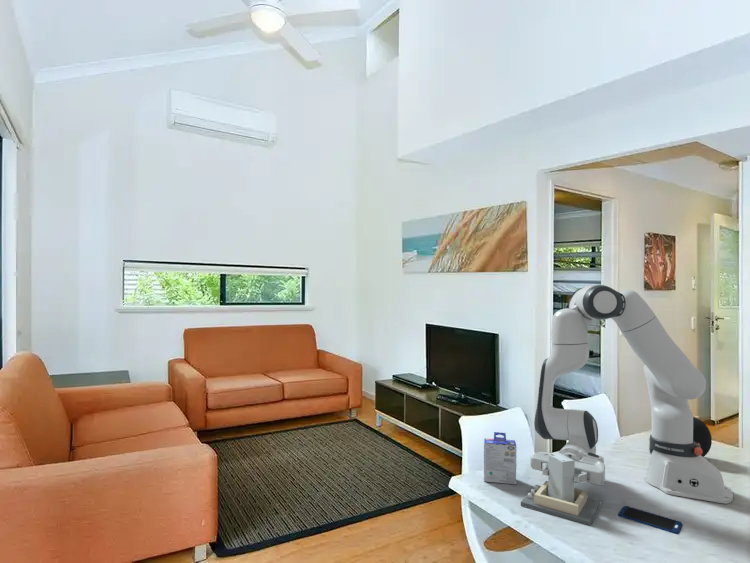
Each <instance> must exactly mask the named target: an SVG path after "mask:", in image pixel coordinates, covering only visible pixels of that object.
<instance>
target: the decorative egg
mask: <svg viewBox="0 0 750 563" xmlns="http://www.w3.org/2000/svg"><path fill="white" fill-rule="evenodd" d="M693 441H694V442H696V443H697V444H698V443H699V444H700V446H701V449H702V451H703V453H702V454H701V456H702V457H704V458H705V456H707V454H708V453H709V452H710V450H711V448H712V443H713V442H712V441H713V438H712V434H711V430H710V429H709V427H708V426H707V424H706V423H705V422H703V420H702V419H700V418H697V417H696V416H693Z"/></svg>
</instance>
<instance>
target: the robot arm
mask: <svg viewBox="0 0 750 563" xmlns="http://www.w3.org/2000/svg"><path fill="white" fill-rule="evenodd" d="M608 319H609V320H610V319H611V320H612V321H614V323H615V324H616V325H617V327H618V329H619V330H620V332H621V333H622V335H623V337H624V338H625V340H626V342H627V343H628V344H629V346H630V347H631V349H632V351H633V352H634V353H635V355H636V356H637V357H638V358H639V359H640V360H641V361H642V363H643V364H644V365H643V370H642V371H643V375H644V377H645V381H646V385H647V386H646V387H647V392H648V397H649V403H650V412H651V413H650V414H651V416H650V417H651V421H650V422H651V426H650V427H651V431H650V432H651V434H650V435H649V438H648V440H649V443H648V451H649V454H650V456H649V461H648V466H647V470H646V473H645V476H644V480H645V481H646V482H647V483H648V484H649V485H651V486H653V487H655V488H658V489H659V490H661V491H662V492H663V493H665V494H667V495H671V496H677V497H678V496H679V497H684V498H690V499H696V500H700V501H701V500H702V501H708V502H712V503H719V504H725V505H726V504H730V503H731V502H732V503H733V501H734V493H733V490H732V489H731V488H730V487H729V486H727V485H726V484H725V482H724V478H723V476H722V473H721V471H720V470H719V468H717V467H716V466H715V465H714V464H712V463H711V462H710V461H708V460H707V459H706V458H705V456H704V457H702V456H701V454H702V453H703V451H702V449H701V446H700V444H699V443H698V444H697V443H696V442H694V441H693V417H694V415H693V412H692V410H691V408H690V405H689V404H690V403H689V400H691V401H692V400H695V399H698V398H699V397H701V396H702V395H703V394H705V393H704V392H705V391H706V389H707V388H706V387H707V380H706V378H705V376H704V374H703V373H702V372H701V371H700V370H699V369H698V368H697V367H696V366H695V365H694V364H693V362H692V360H690V359H689V357H688V356H687V355H686V354H685V352H683V350H682V349H681V348H680V347H679V346H678V345H677V344H676V342H675V341H674V340H673V339H672V337H671V336H670V335H669V333H668V332H667V331H666V329H665V327H664V326H663V324H662V323H661V321H660V320H659V318H658V317H657V315H656V314H655V312H654V310H653V309H652V307H650V306H649V304H648V303H647V302H646V300H644V298H643V297H641V295H640V294H638V292H636V291H635V290H631V289H627V290H626V289H625V290H621V291H617V290H615V289H614V288H612V287H610V286H607V285H604V284H597V285H596V284H593V285H587V286H584V287H580V288H578V289H577V290H575V291H574V292H573V293H572V294H571V295H570V298H569V301H568V302H567V305H566V306H565V308H562V309H559V310H557V311H556V312H554V313H553V316H552V320H551V332H550V333H551V334H550V336H551V339H550V340H551V351H550V354H549V356H548V357H547V358H545V359H544V360H543V362H542V365H541V369H540V376H539V385H538V395H537V403H536V411H535V414H534V421H533V423H534V424H533V425H534V431H536V433H537V434H538V435H539V436H540V437H541V438H543V439H544V440H561V441H567V442H566V443H565V445H564V446H563V447H562V448H560V450H559V451H558V452H557V453H560V454H562V455H564V456H566V457H568V458H570V459H572V460H574V461H575V465H574V484H579V485H580V484H581V483H582V482H585V483H590V484H594V485H598V486H603V485H605V482H606V465H605V460H604V457H603V456H601V455H598V454H596V453H597V444H598V442H599V428H598V423H597V421H596V420H597V419H595V417H594V416H593V415H592V413H590V412H589V411H588V410H583V409H573V408H572V409H568V408H567V409H566V408H557V407H554V406H553V397H554V387H555V386H554V385H555V382H556V380H557V379H558V378H559V377H561V376H563V375H564V376H565V375H566V374H570V373H573V372H575V371H578V370H580V369H582V367H584V366H585V365H586V364H587V363H588V361H589V358H590V343H589V335H588V333H589V326H590V325H591V323H592V321H598V320H600V321H601V320H603V321H604V320H608ZM550 454H553V453H552V452H547V451H538V452H536V453H534V454H532V455H531V456H530V468H532V469H533V470H535V471H540V472H542V475H543V476H546V477H548V472H549V455H550Z"/></svg>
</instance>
